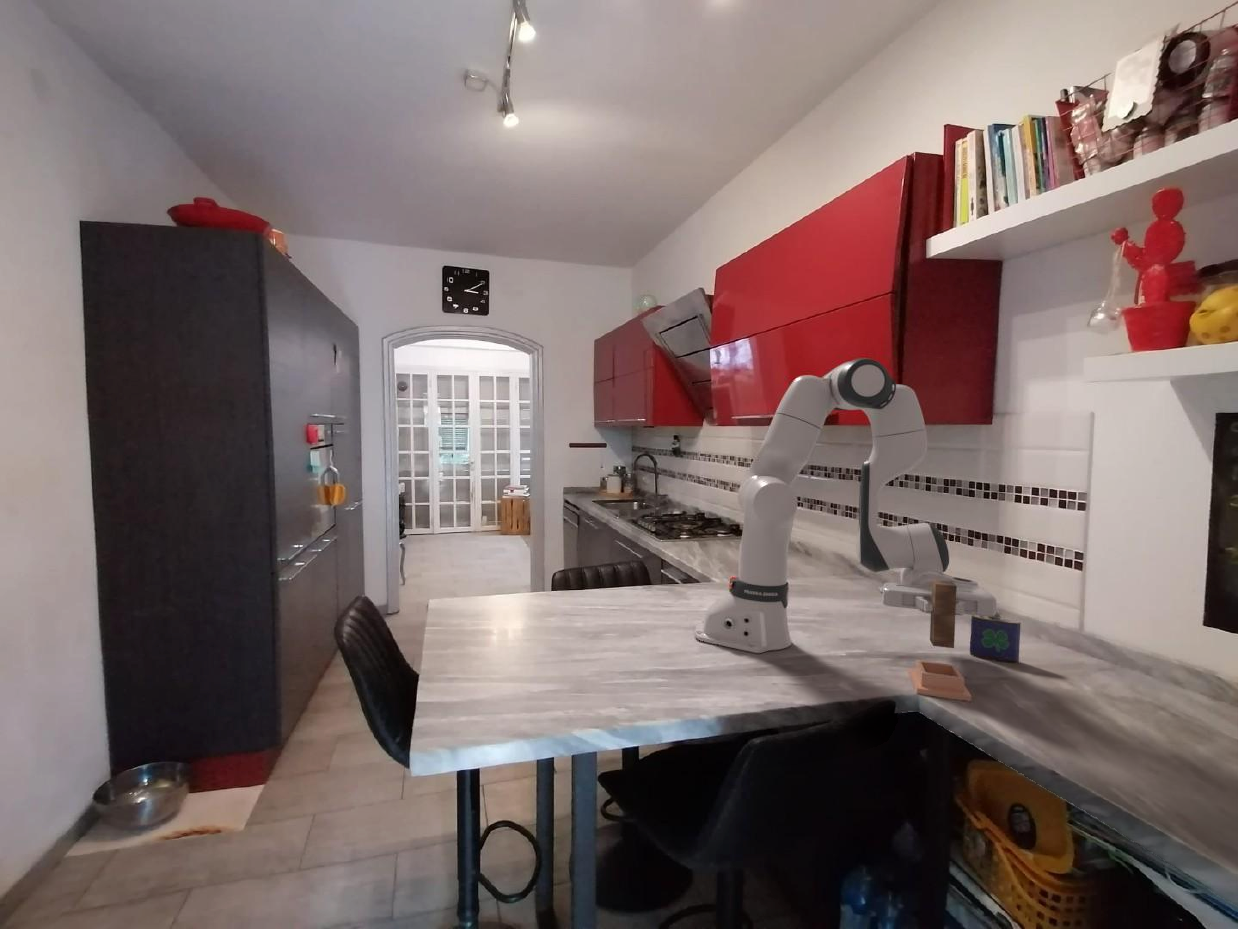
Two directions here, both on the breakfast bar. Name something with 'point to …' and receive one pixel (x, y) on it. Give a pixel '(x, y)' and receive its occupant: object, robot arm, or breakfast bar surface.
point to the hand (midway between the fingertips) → (944, 609)
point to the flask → (995, 638)
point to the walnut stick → (943, 614)
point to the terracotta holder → (938, 680)
